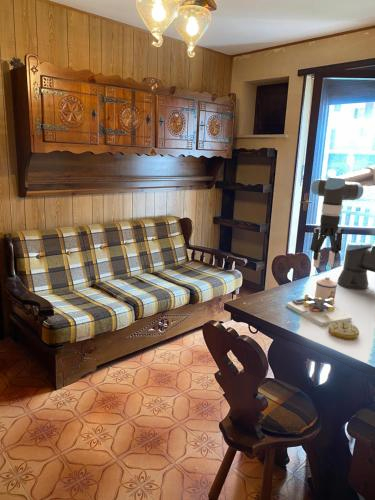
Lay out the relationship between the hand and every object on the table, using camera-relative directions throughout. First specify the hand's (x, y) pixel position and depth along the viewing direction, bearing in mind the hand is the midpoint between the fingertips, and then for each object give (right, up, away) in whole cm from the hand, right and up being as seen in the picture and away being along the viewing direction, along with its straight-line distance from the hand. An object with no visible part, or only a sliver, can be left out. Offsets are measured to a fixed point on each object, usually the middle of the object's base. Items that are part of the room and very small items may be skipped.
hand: (323, 266), depth 169 cm
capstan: (-3, -18, -3) cm, 19 cm away
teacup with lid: (+6, -17, +14) cm, 22 cm away
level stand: (-3, -20, -2) cm, 20 cm away
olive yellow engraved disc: (0, -25, -21) cm, 33 cm away
